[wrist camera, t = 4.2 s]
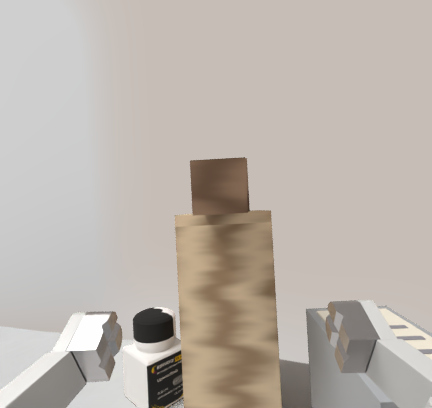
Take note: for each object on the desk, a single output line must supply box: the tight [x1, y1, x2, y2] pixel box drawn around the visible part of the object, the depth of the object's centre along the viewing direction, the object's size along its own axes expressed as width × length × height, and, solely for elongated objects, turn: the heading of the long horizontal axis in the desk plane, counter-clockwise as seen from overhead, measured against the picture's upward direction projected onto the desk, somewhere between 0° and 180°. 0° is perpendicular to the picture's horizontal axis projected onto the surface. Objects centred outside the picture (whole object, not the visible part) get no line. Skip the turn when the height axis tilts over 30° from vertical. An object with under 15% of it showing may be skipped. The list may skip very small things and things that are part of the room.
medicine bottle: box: [122, 307, 183, 408], centre depth 41 cm, size 7×7×12 cm
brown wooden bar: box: [190, 157, 250, 216], centre depth 29 cm, size 6×18×6 cm, turn 178°
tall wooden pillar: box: [175, 210, 282, 408], centre depth 36 cm, size 10×14×26 cm
